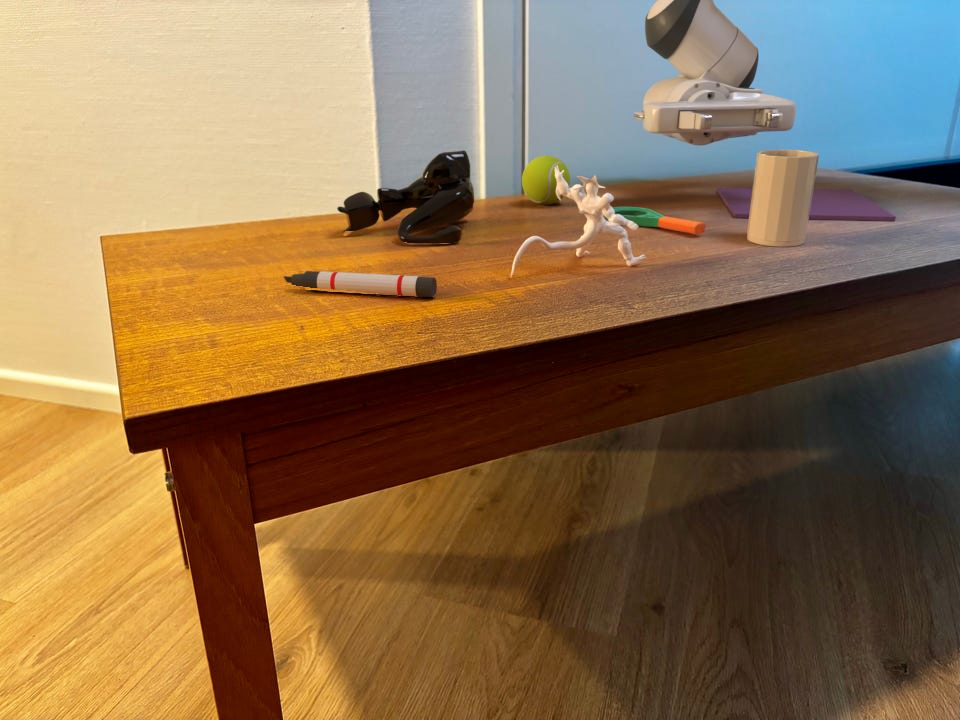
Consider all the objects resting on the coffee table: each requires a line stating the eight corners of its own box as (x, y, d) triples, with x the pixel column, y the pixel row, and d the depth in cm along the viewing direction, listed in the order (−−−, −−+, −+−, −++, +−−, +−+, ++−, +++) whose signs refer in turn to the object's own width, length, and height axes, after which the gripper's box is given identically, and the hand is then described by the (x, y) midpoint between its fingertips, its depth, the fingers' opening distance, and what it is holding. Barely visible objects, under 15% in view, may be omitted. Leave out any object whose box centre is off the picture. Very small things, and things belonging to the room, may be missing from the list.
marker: (437, 294, 70) (436, 274, 69) (431, 301, 68) (430, 280, 67) (289, 286, 73) (287, 267, 72) (280, 292, 71) (277, 272, 71)
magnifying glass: (594, 219, 99) (595, 206, 98) (626, 213, 102) (627, 201, 101) (682, 240, 87) (684, 226, 87) (715, 233, 91) (717, 219, 90)
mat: (850, 193, 113) (851, 189, 113) (895, 221, 95) (896, 216, 95) (716, 191, 117) (716, 187, 116) (734, 218, 98) (735, 213, 98)
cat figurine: (507, 256, 92) (371, 298, 88) (464, 205, 102) (339, 240, 97) (504, 185, 86) (356, 227, 81) (458, 138, 95) (324, 173, 90)
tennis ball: (578, 203, 109) (580, 155, 107) (550, 211, 104) (551, 160, 102) (540, 198, 114) (541, 151, 111) (512, 205, 109) (512, 156, 106)
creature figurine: (659, 244, 79) (633, 154, 70) (635, 323, 73) (604, 235, 65) (561, 248, 85) (526, 165, 76) (531, 321, 79) (491, 240, 71)
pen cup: (797, 234, 89) (810, 149, 86) (810, 247, 84) (824, 157, 80) (743, 233, 91) (753, 149, 87) (751, 246, 85) (763, 156, 81)
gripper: (631, 90, 104) (665, 97, 91) (769, 88, 106) (820, 93, 93) (628, 137, 106) (660, 149, 94) (762, 133, 108) (812, 145, 96)
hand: (741, 121), depth 93 cm, fingers open, 8 cm apart
